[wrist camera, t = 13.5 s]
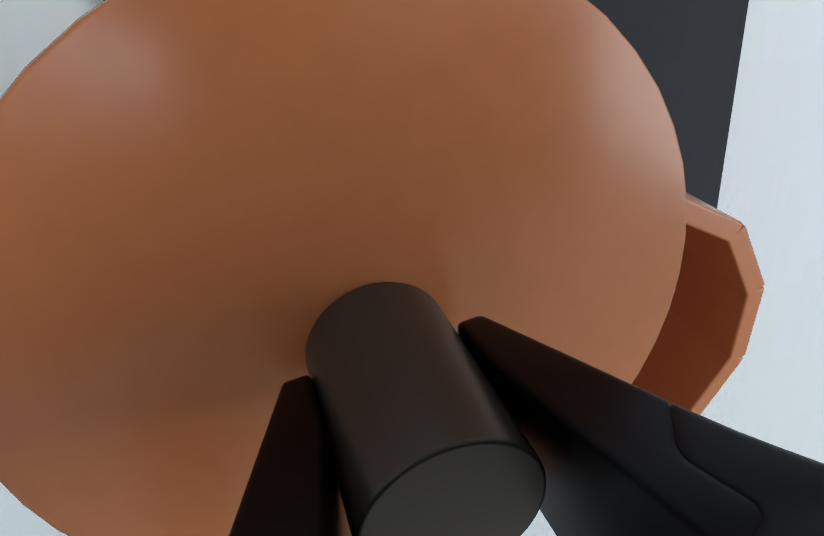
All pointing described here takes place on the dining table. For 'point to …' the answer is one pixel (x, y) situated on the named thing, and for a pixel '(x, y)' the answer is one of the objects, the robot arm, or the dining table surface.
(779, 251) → the dining table surface
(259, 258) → the pot lid
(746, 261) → the pot
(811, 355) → the dining table surface
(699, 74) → the placemat
